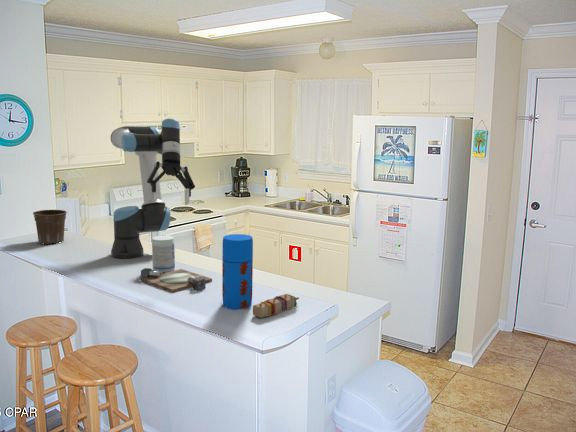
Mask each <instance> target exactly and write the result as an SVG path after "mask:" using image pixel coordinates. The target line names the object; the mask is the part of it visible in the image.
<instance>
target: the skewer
mask: <svg viewBox="0 0 576 432" xmlns="http://www.w3.org/2000/svg"><path fill="white" fill-rule="evenodd" d="M299 299H300V297H296V296H294V295H292V294H289V293H285V294H281V295H278V296H276V295H275V297H274V298H269V299H267V300H263V301H261V302H260V303H257V304H254V305H253V306H252V315H253V316H255V317H257V318H260V319H263V318H265V317H267V316H268V317H271V316H273V315H276V314H280V313H282V312H283V313H285V311H289V310H291V309H293V308H296V307H297V305H298V303H297V300H299ZM271 314H272V315H271Z"/></svg>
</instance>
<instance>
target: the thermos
mask: <svg viewBox="0 0 576 432" xmlns="http://www.w3.org/2000/svg"><path fill="white" fill-rule="evenodd" d="M221 259H222V261H221V262H222V270H221V271H222V272H221V273H222V275H221V277H222V280H221V281H222V289H221V290H222V293H221V294H222V306H223V307H224V308H227V309H230V310H244V309H249V308H250V307H251V306H252V304H253V273H254V272H253V268H254V266H253V265H254V264H253V263H254V239H253V236H252V235H249V234H242V233H240V234H239V233H237V234H235V233H233V234H225V235H223V237H222V258H221Z"/></svg>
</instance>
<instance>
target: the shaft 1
mask: <svg viewBox="0 0 576 432" xmlns="http://www.w3.org/2000/svg"><path fill="white" fill-rule="evenodd" d="M160 274H161V273H160V272H159V271H154V270H153V268H148V267H147V268H143V269H141V270H140V280H141V281H142V279H143V278H148V277H159V276H160Z"/></svg>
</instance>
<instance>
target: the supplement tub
mask: <svg viewBox="0 0 576 432" xmlns="http://www.w3.org/2000/svg"><path fill="white" fill-rule="evenodd" d="M151 240H152V241H151V256H152V258H151V259H152V271H159V272H160V274H163V273H167V272H171V271H175V270H176V263H175V261H176V259H175V258H176V257H175V256H176V255H175V254H176V253H175V238H174V236H172V235H158V236H157V235H156V236H153V237H151Z"/></svg>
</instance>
